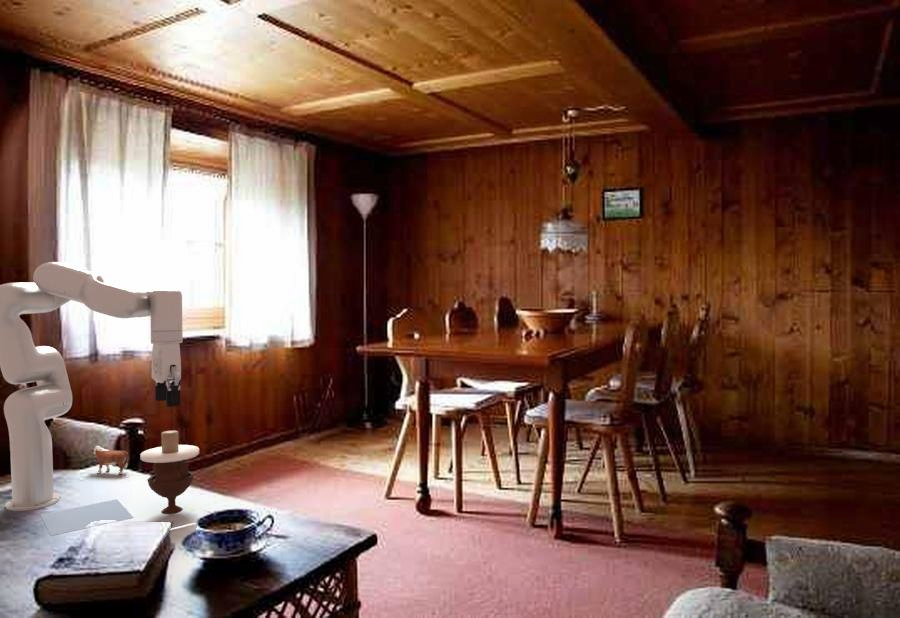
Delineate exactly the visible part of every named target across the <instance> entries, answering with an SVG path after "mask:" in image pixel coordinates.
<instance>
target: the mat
mask: <svg viewBox="0 0 900 618" xmlns="http://www.w3.org/2000/svg"><path fill="white" fill-rule="evenodd" d="M39 516H40V518H41V520H42V522H43V524H44V525H45V528H46V529H47V531H48V533H49V536H50V537H53V536H58V535H62V534H65V533H70V532H75V531H80V530H85V529H86V528H85V527H86V526H87V525H88V524H90V523H91V522H94V521H100V520H116V521H117V522H120V521H124V520H125V521H126V520H129V519H130V520H131V519H134V516H133V515H132V514H131V513H130V512H129V511H128V510H127V508H126V507H124V505H123V504H122V503H121V502H120V501H119V500H118V499H117V498H115V499H112V500H111V499H110V500H107V501H103V502H96V503H91V504H86V505H81V506H76V507H71V508H66V509H62V510H57V511H56V510H55V511H52V512H46V513H41V514H40V515H39Z"/></svg>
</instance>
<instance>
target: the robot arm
mask: <svg viewBox="0 0 900 618" xmlns="http://www.w3.org/2000/svg"><path fill="white" fill-rule="evenodd" d="M32 278H33V279H32V280H33V282H21V281H20V282H7V283H3V284H0V371H1V373H2V377H3V379H4V380H5V382H7V383H8V384H11V385H21V384H22V385H23V384H29V383H35V382H36V385H35V386H32V387H26V388H21V389H18V390H16V391H14V392H12V393H11V394H9V396H8V397H7V398H6V400H5V402H4V404H3V414H4V418H5V420H6V421H5V422H6V424H7V428H8V436H9V451H10V453H9V454H10V473H11V474H10V475H11V476H10V477H11V499H10V500H8V501H7V502H6V503H5V504H4V505H5V507H6V508H5V509H6V510H7V511H13V512H14V511H15V512H26V511H33V510H38V509H42V508H43V509H44V508H47V507H50V506H53V505H55V504H57V503H59V502H60V501H61V499H62V498H61V495H60V494H59V493H57V492H55V491H54V487H55V486H54V467H53V466H54V463H53V460H54V459H53V440H52V434H51V431H50V429H49V428H48V426H47V425H46V422H45V421H46V420H50V419H54V418H58V417H61V416H62V415H65V414H66V413H68V412H69V411H70V409H71V408H72V405H73V391H72V389H71V383H70V381H69V376H68V375H69V374H68V372H67V368H66V363H65V360H64V358H63V356H62V355H61V353H60V352H59V351H58V350H57V349H55V348H54V347H51V346H47V345H38V346H35V343H34V341H33V337H32V332H31V330H30V328H29V326H28V325H27V323H26V322H25V321H24V320H23V319H22V318H21V317H20V316H21V315H31V314H43V313H50V312H53V311H55V310H57V309H59V308H60V307H62V306H63V305H65V304H67V303H69V302H70V301H73V302H78V303H80V304H84V305H85V307H87V308H88V309H90V310H92V311H94V312H96V313H99V314H103V315H107V316H109V317H114V318H116V319H117V318H118V319H132V318H144V317H145V318H146V317H150V344H152V351H151V352H152V353H151V379H152V380H154V381H155V383H154V385H155V386H154V388H155V389H154V391H155V392H154V393H155V396H154V397H155V401H156V402H159V401H160V402H161V401H165V403H166V407H168V408H170V407H171V408H172V407H180V405H181V382H180V380H181V378H182V364H181V363H182V359H181V348H180V344H182V343H183V338H184V337H183V331H184V330H183V295H182V292H181V290H179V289H170V288H160V289H158V288H157V289H155V288H148V287H128V288H126V287H125V288H123V287H117V286H114V285H111V284H110V285H109V284H107V283H105V282H104V278H103V277H102V276H101V275H100V274H99V273H96V272H93V271H89V270H88V268H86V267H85V266H84V265H83V264H80V263H77V262H66V261H64V262H63V261H48V262H44V263H42V264H40V265H39V266H38V267H36V269H35V270H34V273H33V275H32Z"/></svg>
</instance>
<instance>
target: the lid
mask: <svg viewBox="0 0 900 618" xmlns="http://www.w3.org/2000/svg"><path fill="white" fill-rule="evenodd" d="M160 435H161V437H160V438H161V446H157V447H154V448H149V449H146V450H144V451H142V452H141V453H140V454H139V455H140V457H139V458H140V460H141V461H142V462H146V463H153V464H154V463H166V462H176V461H185V460H191V459H193V458H195V457H197V456H198V455H199V454H200V448H199V446H196V445H192V444H191V445H189V444H179V431H178V430H166V431H162V432H161V434H160Z"/></svg>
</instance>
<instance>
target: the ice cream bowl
mask: <svg viewBox="0 0 900 618" xmlns="http://www.w3.org/2000/svg"><path fill="white" fill-rule="evenodd" d="M152 471H153V473H154V474H152V475H151V476H150V477H148V478H147V483H148V486H149V488H150V490H152V492H154V493H155V494H156V495H158V496H160V497H162V498H167V503H168V504H167V506H166V507H165V508H164V509H162V510H161V511H160V513H162V515H173V514H178V513H180V512H182V511H183V510H184V508H183V507H181V506H179V505H176V498H177V497H179V496H181V495H182V494H183V493H185V492H186V490H187V489H188V488H189V487H190V486H191V485H192V483H193V480H194V477H195V473H194V472H192V471H190V470H189V466H188V464H186V463H185V462H184V461H183V460H181V461H176V462H166V463H153V465H152Z"/></svg>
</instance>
